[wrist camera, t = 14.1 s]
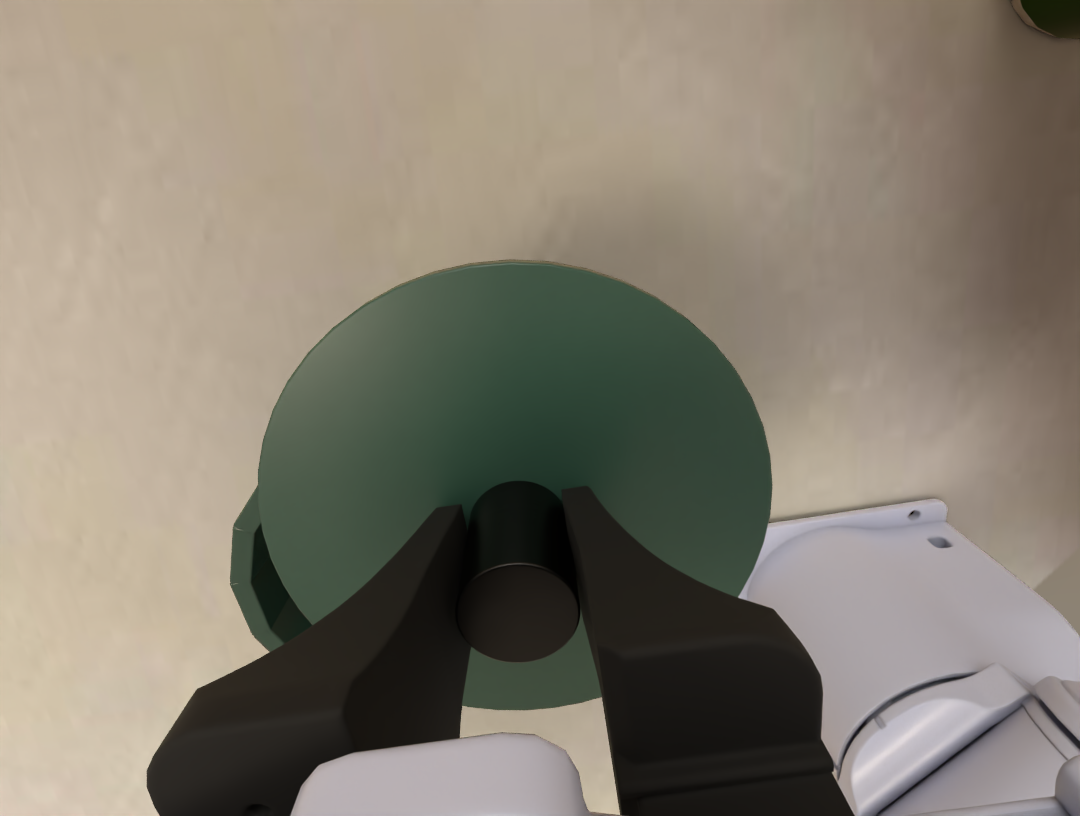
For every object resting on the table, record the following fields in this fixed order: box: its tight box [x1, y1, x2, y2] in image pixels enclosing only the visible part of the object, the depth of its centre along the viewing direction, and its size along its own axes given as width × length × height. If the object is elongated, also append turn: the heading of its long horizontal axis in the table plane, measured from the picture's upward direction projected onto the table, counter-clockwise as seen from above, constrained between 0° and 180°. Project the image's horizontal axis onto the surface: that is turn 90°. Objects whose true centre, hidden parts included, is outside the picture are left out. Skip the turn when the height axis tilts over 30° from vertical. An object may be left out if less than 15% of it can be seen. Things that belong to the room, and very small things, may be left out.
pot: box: [230, 486, 312, 652], centre depth 22 cm, size 11×11×6 cm
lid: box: [258, 260, 772, 710], centre depth 13 cm, size 12×12×4 cm
